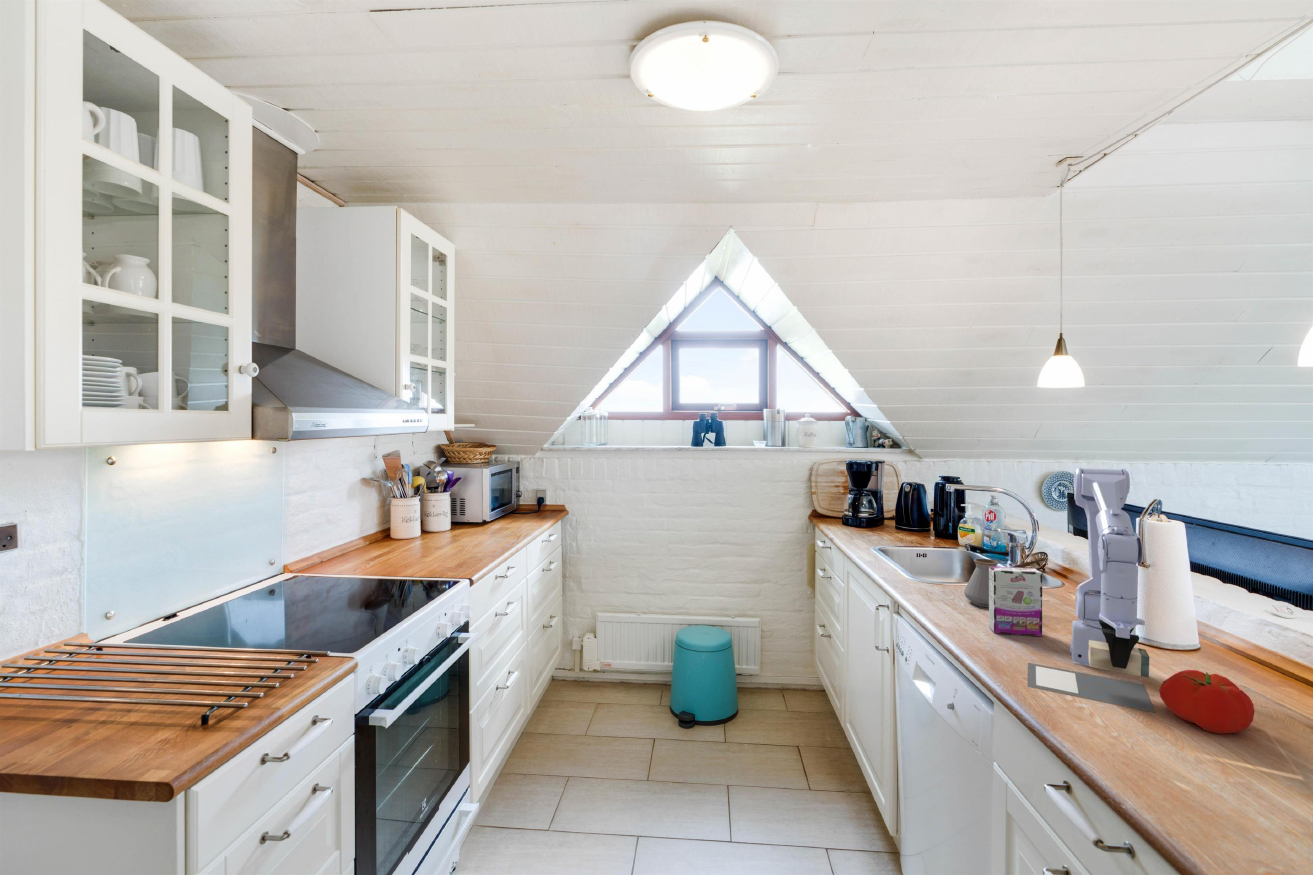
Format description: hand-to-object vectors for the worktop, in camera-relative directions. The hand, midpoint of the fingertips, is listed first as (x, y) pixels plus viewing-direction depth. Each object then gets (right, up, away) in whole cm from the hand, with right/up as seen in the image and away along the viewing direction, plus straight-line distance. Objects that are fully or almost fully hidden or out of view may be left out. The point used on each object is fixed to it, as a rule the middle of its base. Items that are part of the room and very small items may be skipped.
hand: (1117, 662), depth 116 cm
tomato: (+6, -7, -12) cm, 15 cm away
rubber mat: (-4, -6, +3) cm, 8 cm away
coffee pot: (+11, -5, +56) cm, 57 cm away
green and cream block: (0, -1, 0) cm, 1 cm away
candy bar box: (0, -6, +34) cm, 35 cm away
